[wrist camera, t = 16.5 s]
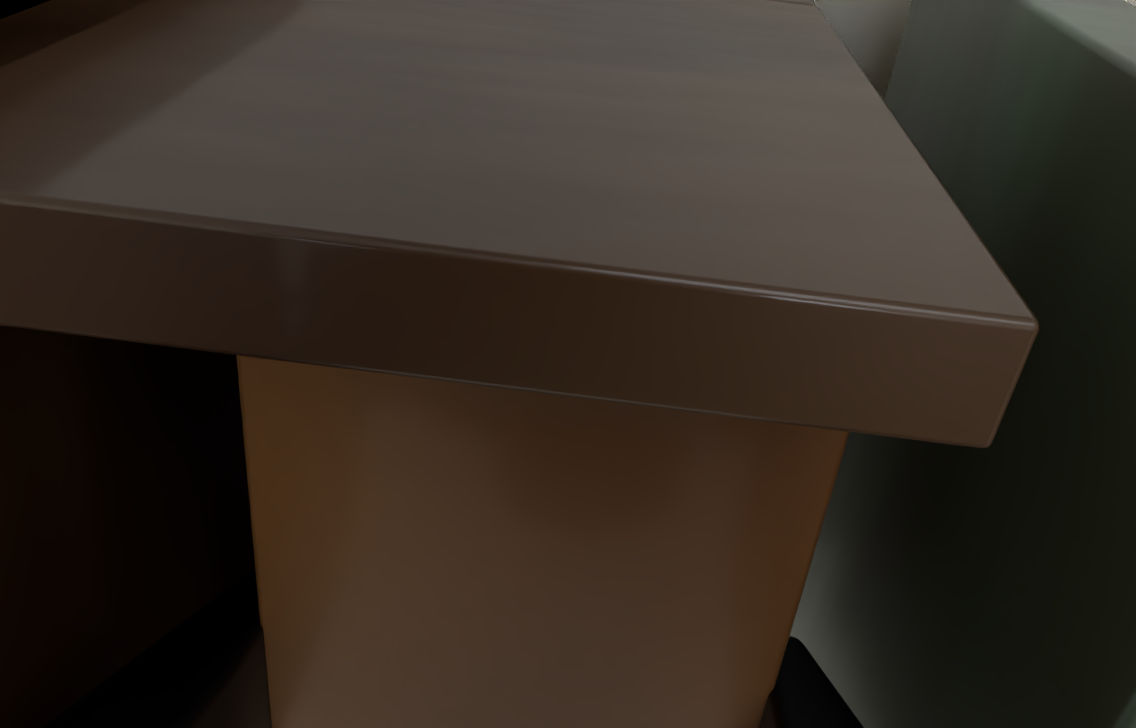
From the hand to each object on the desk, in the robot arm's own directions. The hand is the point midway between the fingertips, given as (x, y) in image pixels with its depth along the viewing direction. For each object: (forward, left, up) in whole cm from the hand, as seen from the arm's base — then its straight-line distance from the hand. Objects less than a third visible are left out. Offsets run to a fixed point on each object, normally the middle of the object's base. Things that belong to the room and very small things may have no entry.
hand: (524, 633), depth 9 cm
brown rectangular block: (0, 0, -1) cm, 1 cm away
